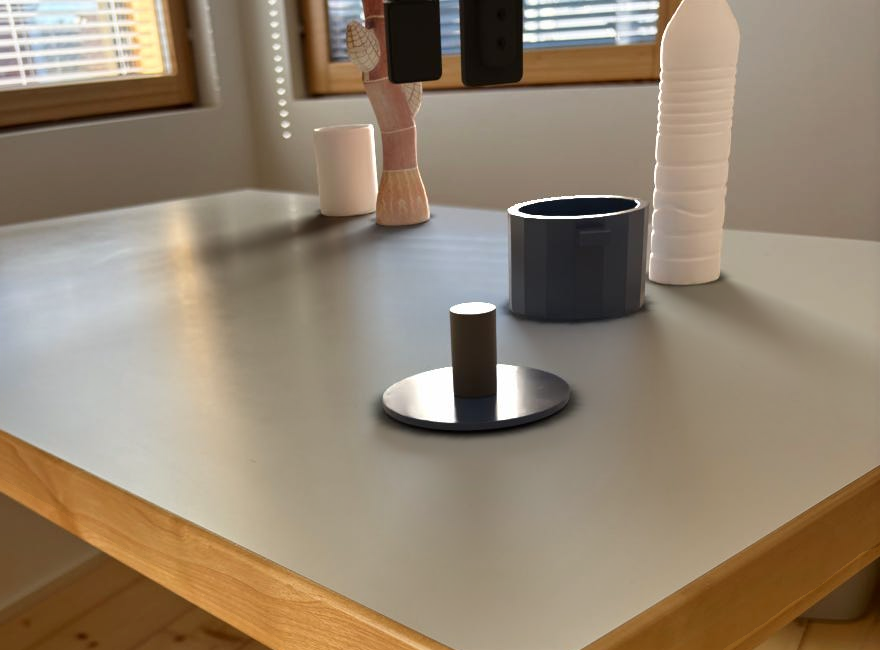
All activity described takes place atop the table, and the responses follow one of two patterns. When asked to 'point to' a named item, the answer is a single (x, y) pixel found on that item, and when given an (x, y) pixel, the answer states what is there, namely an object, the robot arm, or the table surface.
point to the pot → (577, 258)
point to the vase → (390, 121)
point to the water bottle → (693, 142)
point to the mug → (346, 169)
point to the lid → (475, 383)
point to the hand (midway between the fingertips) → (451, 83)
